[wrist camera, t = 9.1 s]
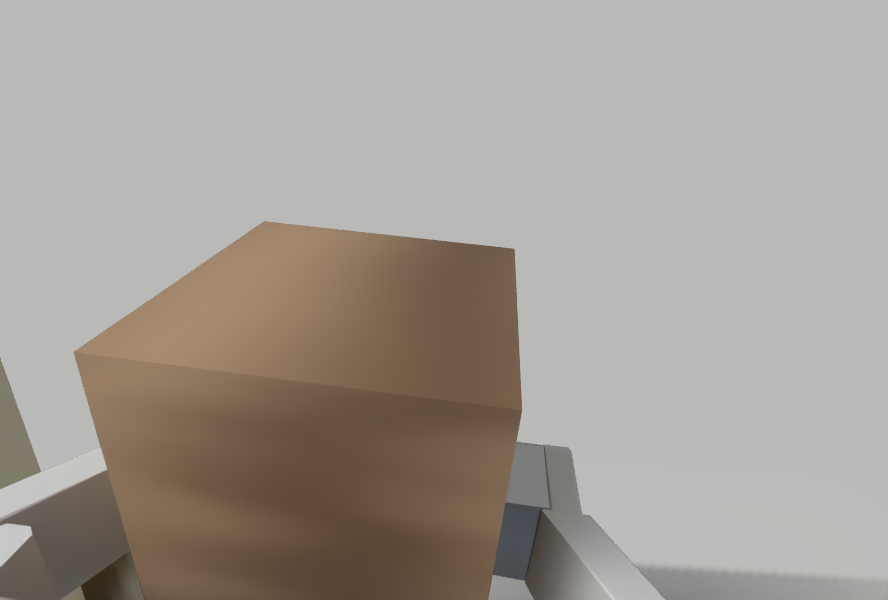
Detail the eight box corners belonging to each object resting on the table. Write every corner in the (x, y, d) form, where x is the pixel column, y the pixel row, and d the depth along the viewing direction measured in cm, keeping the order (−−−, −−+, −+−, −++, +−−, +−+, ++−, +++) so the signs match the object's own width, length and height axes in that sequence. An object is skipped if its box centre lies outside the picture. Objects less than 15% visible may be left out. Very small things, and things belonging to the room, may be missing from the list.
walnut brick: (196, 781, 10) (73, 351, 6) (291, 558, 15) (264, 221, 10) (447, 828, 10) (522, 410, 5) (465, 584, 14) (514, 248, 10)
